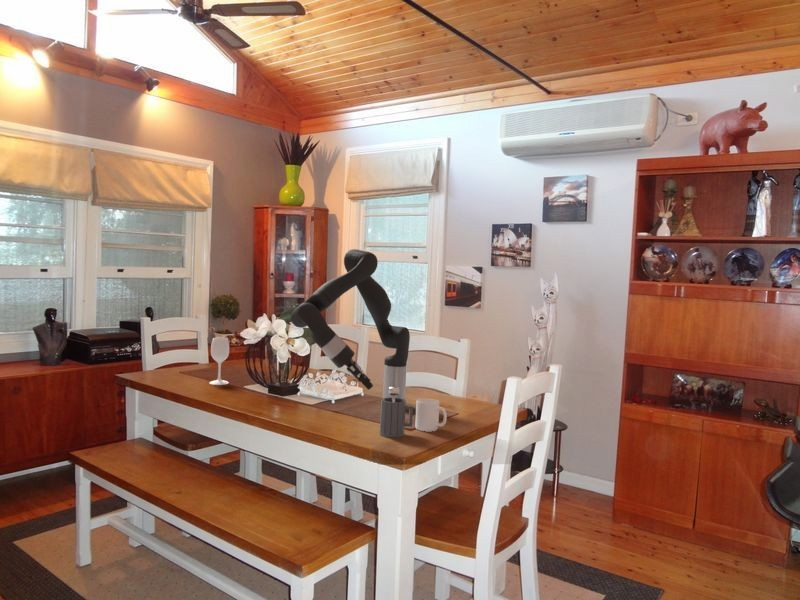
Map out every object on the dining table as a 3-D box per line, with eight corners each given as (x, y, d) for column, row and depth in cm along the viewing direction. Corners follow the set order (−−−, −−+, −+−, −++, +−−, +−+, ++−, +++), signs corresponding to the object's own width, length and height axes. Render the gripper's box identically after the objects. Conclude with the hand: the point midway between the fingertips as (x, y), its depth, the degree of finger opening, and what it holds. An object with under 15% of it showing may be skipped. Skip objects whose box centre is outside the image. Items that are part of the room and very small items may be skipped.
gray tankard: (378, 430, 206) (380, 397, 206) (409, 430, 208) (411, 397, 207) (381, 437, 198) (382, 402, 197) (413, 437, 200) (415, 403, 199)
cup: (422, 424, 218) (424, 397, 217) (451, 430, 211) (452, 402, 211) (410, 428, 211) (412, 401, 210) (440, 435, 204) (441, 406, 204)
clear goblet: (383, 419, 205) (385, 385, 204) (399, 419, 206) (400, 385, 205) (385, 423, 199) (387, 389, 199) (401, 423, 200) (403, 389, 200)
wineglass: (208, 385, 266) (209, 339, 265) (209, 381, 274) (211, 336, 273) (228, 385, 268) (229, 339, 267) (229, 381, 276) (230, 337, 275)
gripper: (347, 346, 191) (380, 381, 193) (344, 340, 205) (375, 373, 207) (330, 361, 190) (363, 397, 193) (328, 355, 205) (359, 388, 207)
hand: (369, 385), depth 200 cm, fingers open, 8 cm apart
